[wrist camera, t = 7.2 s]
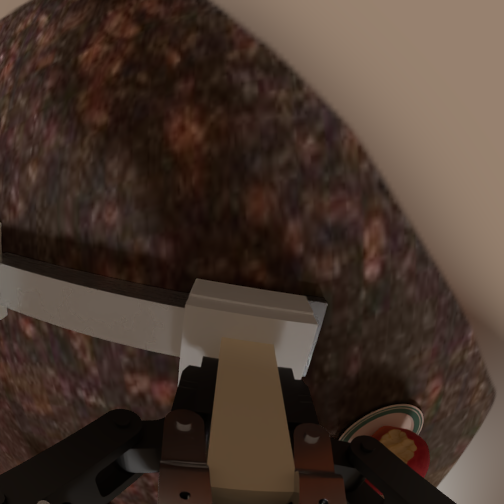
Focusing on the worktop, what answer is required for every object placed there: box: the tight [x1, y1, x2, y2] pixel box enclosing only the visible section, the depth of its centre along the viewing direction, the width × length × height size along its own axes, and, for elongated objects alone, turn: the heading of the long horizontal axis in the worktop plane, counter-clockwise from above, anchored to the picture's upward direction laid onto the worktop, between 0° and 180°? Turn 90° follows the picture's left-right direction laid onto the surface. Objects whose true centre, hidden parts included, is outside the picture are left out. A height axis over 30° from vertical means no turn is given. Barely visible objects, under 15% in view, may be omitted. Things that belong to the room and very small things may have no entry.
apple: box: [339, 404, 430, 495], centre depth 18 cm, size 8×8×6 cm
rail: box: [0, 252, 328, 376], centre depth 16 cm, size 21×5×2 cm, turn 80°
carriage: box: [178, 278, 318, 504], centre depth 12 cm, size 6×5×11 cm
